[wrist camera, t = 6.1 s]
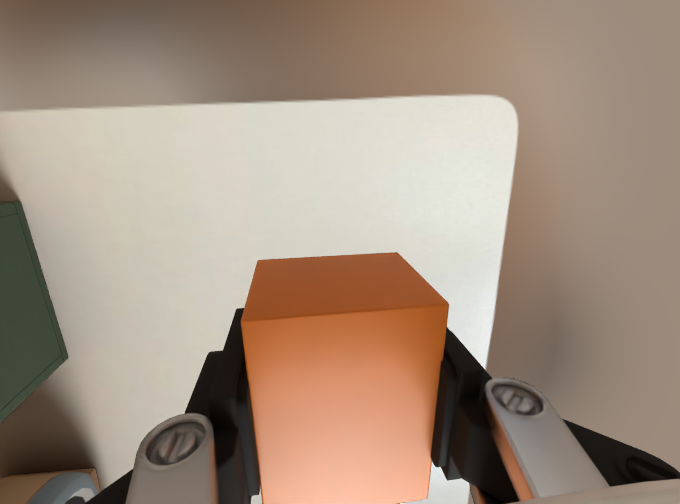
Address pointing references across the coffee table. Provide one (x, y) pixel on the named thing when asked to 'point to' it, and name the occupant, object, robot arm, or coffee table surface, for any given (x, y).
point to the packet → (343, 378)
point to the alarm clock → (50, 487)
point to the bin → (23, 314)
